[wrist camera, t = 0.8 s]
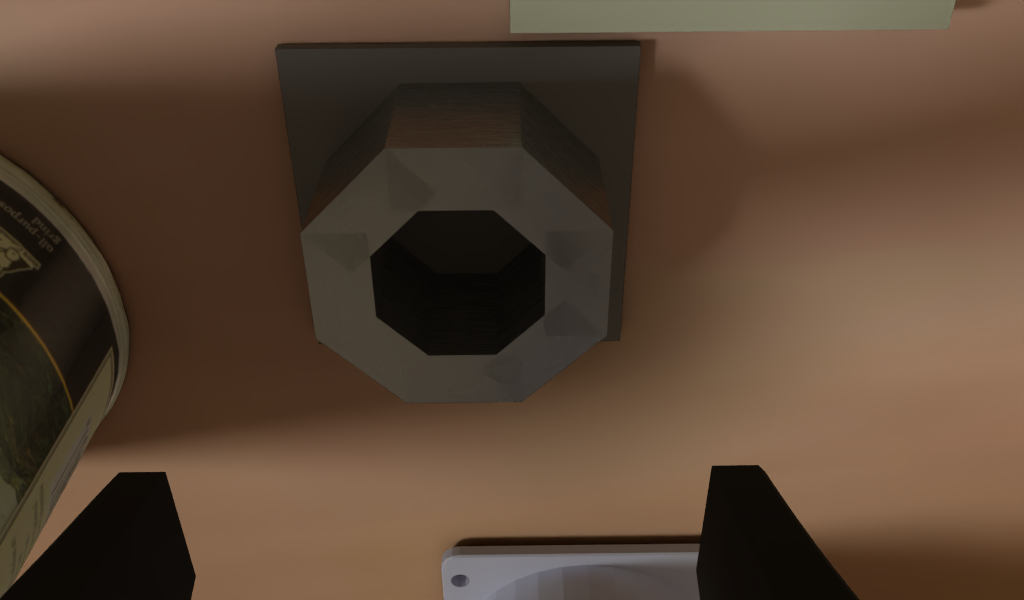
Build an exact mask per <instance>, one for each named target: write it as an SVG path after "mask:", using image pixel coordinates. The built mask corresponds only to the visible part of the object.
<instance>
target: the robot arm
mask: <svg viewBox="0 0 1024 600" xmlns="http://www.w3.org/2000/svg"><path fill="white" fill-rule="evenodd" d="M459 575H463V576H459ZM195 577H196V575H195V572H194V568H193V565H192V562H191V558H190V555H189V551H188V548H187V544H186V541H185V538H184V534H183V531H182V527H181V524H180V520H179V517H178V513H177V510H176V507H175V503H174V500H173V496H172V493H171V489H170V486H169V483H168V479H167V476H166V472H120V473H118V474H117V475H116V476H115V477H114V478H113V479H112V480H111V481H110V482H109V483H108V484H107V486H106V487H105V488H104V489H103V490H102V491H101V492H100V493H99V494H98V495H97V496H96V497H95V498H94V499H93V500H92V501H91V502H90V504H89V505H88V506H87V507H86V508H85V509H84V510H83V511H82V512H81V513H80V514H79V515H78V517H77V518H76V519H75V520H74V521H73V522H72V523H71V524H70V525H69V526H68V527H67V528H66V529H65V531H64V532H63V533H62V534H61V535H60V536H59V537H58V538H57V539H56V540H55V541H54V542H53V543H52V544H51V545H50V547H49V548H48V549H47V550H46V551H45V552H44V553H43V554H42V555H41V556H40V557H39V558H38V559H37V560H36V561H35V562H34V563H33V564H32V565H31V567H30V568H29V569H28V570H27V571H26V572H25V573H24V574H23V575H22V576H21V577H20V578H19V579H18V580H17V581H16V582H15V583H14V584H13V585H12V586H11V587H10V588H9V589H8V590H7V591H6V592H5V593H4V594H3V595H2V596H1V597H0V600H191V596H192V591H193V587H194V582H195ZM442 581H443V595H444V600H859V599H858V597H857V596H856V595H855V594H854V592H853V591H852V590H851V589H850V587H849V586H848V585H847V584H846V582H845V581H844V580H843V579H842V577H841V576H840V575H839V574H838V572H837V571H836V570H835V569H834V567H833V566H832V565H831V563H830V562H829V561H828V560H827V558H826V557H825V556H824V554H823V553H822V552H821V550H820V549H819V548H818V546H817V545H816V544H815V542H814V541H813V540H812V538H811V537H810V535H809V534H808V533H807V531H806V530H805V529H804V527H803V526H802V525H801V523H800V522H799V520H798V519H797V518H796V516H795V515H794V513H793V512H792V511H791V509H790V508H789V506H788V505H787V503H786V502H785V500H784V499H783V498H782V496H781V495H780V493H779V492H778V490H777V489H776V487H775V486H774V484H773V483H772V481H771V480H770V478H769V477H768V475H767V474H766V472H765V471H764V470H763V469H762V468H761V467H760V466H759V465H738V466H712V469H711V476H710V482H709V489H708V495H707V502H706V508H705V515H704V521H703V528H702V534H701V541H700V544H619V545H532V546H458V547H453V548H451V549H448V550H447V551H446V552H445V553H444V554H443V557H442Z"/></svg>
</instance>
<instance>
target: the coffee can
mask: <svg viewBox="0 0 1024 600" xmlns="http://www.w3.org/2000/svg"><path fill="white" fill-rule="evenodd" d="M129 332H130V331H129V326H128V321H127V317H126V313H125V311H124V307H123V303H122V299H121V295H120V292H119V289H118V287H117V285H116V282H115V280H114V278H113V276H112V274H111V271H110V269H109V267H108V265H107V263H106V261H105V259H104V258H103V256H102V254H101V253H100V251H99V250H98V248H97V247H96V245H95V244H94V242H93V241H92V240H91V238H90V237H89V235H88V234H87V233H86V231H85V230H84V229H83V227H82V226H81V225H80V224H79V223H78V221H77V220H76V219H75V218H74V217H73V216H72V215H71V214H70V213H69V211H68V210H67V209H66V208H65V207H64V206H63V205H62V204H61V203H60V202H59V201H58V200H57V199H56V198H55V197H54V196H53V195H52V194H51V193H50V192H49V191H48V190H47V189H46V188H45V187H44V186H43V185H42V184H41V183H39V182H38V181H37V180H36V179H35V178H33V177H32V176H31V175H30V174H29V173H27V172H26V171H24V170H23V169H21V168H20V167H18V166H17V165H15V164H14V163H12V162H11V161H9V160H8V159H7V158H5V157H4V156H2V155H1V154H0V597H1V596H2V595H3V594H4V593H5V592H6V591H7V590H8V589H9V588H10V587H11V586H12V585H13V583H14V581H15V579H16V577H17V575H18V574H19V572H20V570H21V568H22V566H23V564H24V563H25V561H26V559H27V557H28V555H29V553H30V552H31V550H32V548H33V546H34V544H35V542H36V541H37V539H38V537H39V535H40V533H41V531H42V529H43V527H44V526H45V524H46V522H47V520H48V518H49V516H50V514H51V512H52V511H53V509H54V507H55V505H56V503H57V501H58V499H59V497H60V496H61V494H62V492H63V490H64V489H65V487H66V485H67V483H68V481H69V479H70V477H71V475H72V473H73V472H74V470H75V468H76V466H77V464H78V462H79V460H80V459H81V457H82V455H83V453H84V451H85V449H86V447H87V445H88V444H89V442H90V440H91V438H92V436H93V434H94V432H95V431H96V429H97V428H98V426H99V424H100V423H101V421H102V420H103V419H104V418H105V416H106V415H107V414H108V412H109V411H110V409H111V408H112V407H113V405H114V403H115V401H116V399H117V397H118V394H119V392H120V390H121V387H122V384H123V382H124V379H125V375H126V370H127V365H128V358H129Z"/></svg>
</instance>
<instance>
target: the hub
mask: <svg viewBox="0 0 1024 600" xmlns="http://www.w3.org/2000/svg"><path fill="white" fill-rule="evenodd" d="M955 1H956V0H510V32H511V33H599V32H708V31H817V30H926V29H949V25H950V21H951V17H952V13H953V9H954V5H955Z"/></svg>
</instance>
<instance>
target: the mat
mask: <svg viewBox="0 0 1024 600" xmlns="http://www.w3.org/2000/svg"><path fill="white" fill-rule="evenodd" d="M275 52H276V59H277V65H278V72H279V79H280V85H281V92H282V99H283V105H284V112H285V119H286V125H287V132H288V139H289V146H290V152H291V159H292V166H293V172H294V179H295V186H296V192H297V199H298V206H299V212H300V219H301V226H302V227H303V224H304V221H305V218H306V216H307V213H308V210H309V207H310V204H311V202H312V199H313V196H314V193H315V190H316V187H317V185H318V182H319V179H320V176H321V173H322V171H323V168H324V165H325V162H326V160H327V159H328V158H329V157H330V156H331V155H332V154H333V153H334V152H335V151H336V150H337V149H338V148H339V147H340V146H341V145H342V144H343V142H344V141H345V140H346V139H347V138H348V137H349V136H350V135H351V134H352V133H353V132H354V131H355V130H356V129H357V128H358V127H359V126H360V125H361V124H362V123H363V122H364V121H365V120H366V119H367V117H368V116H369V115H370V114H371V113H372V112H373V111H374V110H375V109H376V108H377V107H378V106H379V105H380V104H381V103H382V102H383V101H384V100H385V99H386V98H387V97H388V96H389V95H390V93H391V92H392V91H393V90H394V89H395V88H396V87H397V86H398V85H399V84H400V83H497V82H519V83H520V84H521V85H522V86H523V87H524V88H525V89H526V90H528V91H529V92H530V93H531V94H532V95H533V96H534V97H535V98H536V99H537V100H538V101H539V102H540V103H541V104H542V105H543V106H544V107H545V108H547V109H548V110H549V111H550V112H551V113H552V114H553V115H554V116H555V117H556V118H557V119H558V120H559V121H560V122H561V123H562V124H563V125H564V126H566V127H567V128H568V129H569V130H570V131H571V132H572V133H573V134H574V135H575V136H576V137H577V138H578V139H579V140H580V141H581V142H582V143H583V144H585V145H586V146H587V147H588V148H589V149H590V150H591V151H592V152H593V153H594V154H595V155H596V156H597V157H598V158H599V161H600V166H601V171H602V176H603V181H604V186H605V191H606V196H607V201H608V206H609V211H610V217H611V222H612V227H613V243H612V259H611V276H610V292H609V308H608V324H607V336H606V337H604V338H603V339H602V340H600V341H620V331H621V317H622V303H623V289H624V275H625V261H626V247H627V234H628V220H629V206H630V192H631V178H632V164H633V150H634V136H635V122H636V108H637V94H638V80H639V66H640V52H641V45H640V42H639V41H580V42H471V43H363V44H278V45H277V47H276V49H275ZM391 237H392V238H393V239H394V240H395V241H397V242H398V243H399V244H400V245H402V246H403V247H404V248H406V249H407V250H408V251H409V252H411V253H412V254H413V255H414V256H416V257H417V258H418V259H419V260H421V261H422V262H423V263H424V264H426V265H427V266H428V267H429V268H431V269H432V270H433V271H434V272H436V273H437V274H438V273H497V272H498V271H500V270H501V269H502V268H503V267H504V266H505V265H507V264H508V263H509V262H510V261H511V260H512V259H513V258H515V257H516V256H517V255H518V254H519V253H520V252H521V251H523V250H524V249H525V248H526V247H527V246H528V245H530V244H531V242H530V241H529V240H528V239H527V238H525V237H524V236H523V235H522V234H521V233H520V232H518V231H517V230H516V229H515V228H514V227H513V226H511V225H510V224H509V223H508V222H507V221H506V220H504V219H503V218H502V217H501V216H500V215H499V214H497V213H496V212H495V211H494V210H452V211H417V212H416V213H415V214H414V215H413V216H412V217H411V218H410V219H409V220H408V221H407V222H406V223H405V224H404V225H403V226H402V227H401V228H400V229H399V230H397V231H396V232H395V233H394V234H393V235H392V236H391ZM319 344H323V343H321V342H320V341H319Z"/></svg>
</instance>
